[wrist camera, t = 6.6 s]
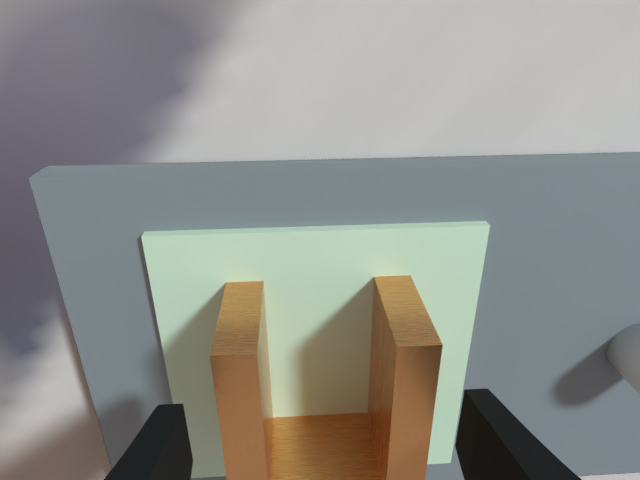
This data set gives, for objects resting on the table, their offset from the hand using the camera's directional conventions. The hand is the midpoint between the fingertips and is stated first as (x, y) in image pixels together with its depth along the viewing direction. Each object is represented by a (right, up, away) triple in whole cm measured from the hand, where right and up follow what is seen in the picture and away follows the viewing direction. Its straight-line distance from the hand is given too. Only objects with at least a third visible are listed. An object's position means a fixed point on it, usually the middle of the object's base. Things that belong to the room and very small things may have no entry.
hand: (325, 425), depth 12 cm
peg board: (+5, +2, +3) cm, 6 cm away
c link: (0, +1, +2) cm, 2 cm away
